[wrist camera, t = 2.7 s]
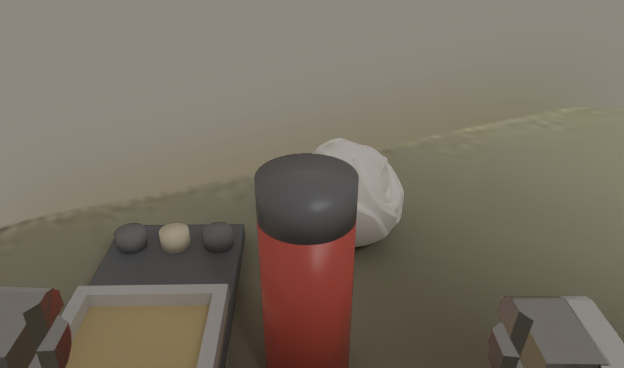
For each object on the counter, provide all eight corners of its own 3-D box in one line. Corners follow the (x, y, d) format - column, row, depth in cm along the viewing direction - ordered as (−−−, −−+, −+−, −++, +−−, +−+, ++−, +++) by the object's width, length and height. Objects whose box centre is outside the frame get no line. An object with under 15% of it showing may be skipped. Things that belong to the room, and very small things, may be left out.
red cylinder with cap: (351, 405, 25) (364, 202, 19) (264, 407, 25) (250, 203, 19) (344, 339, 29) (353, 152, 23) (268, 340, 29) (258, 153, 23)
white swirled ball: (387, 279, 34) (397, 178, 30) (282, 257, 36) (279, 160, 32) (405, 217, 40) (415, 128, 37) (316, 202, 42) (316, 116, 39)
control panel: (204, 497, 21) (198, 463, 20) (-11, 502, 21) (-29, 468, 20) (244, 237, 38) (242, 210, 37) (125, 238, 38) (119, 211, 37)
